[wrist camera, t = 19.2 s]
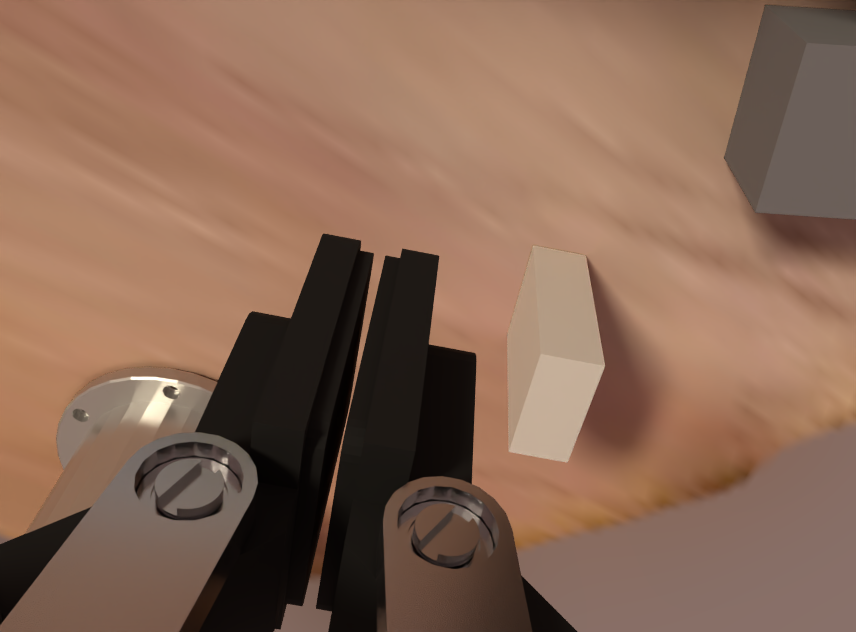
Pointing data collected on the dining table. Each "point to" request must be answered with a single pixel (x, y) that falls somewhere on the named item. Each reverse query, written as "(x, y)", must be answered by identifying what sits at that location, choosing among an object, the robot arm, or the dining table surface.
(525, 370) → the pair of cream posts
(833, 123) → the block
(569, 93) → the dining table surface
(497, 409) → the dining table surface
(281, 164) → the dining table surface
